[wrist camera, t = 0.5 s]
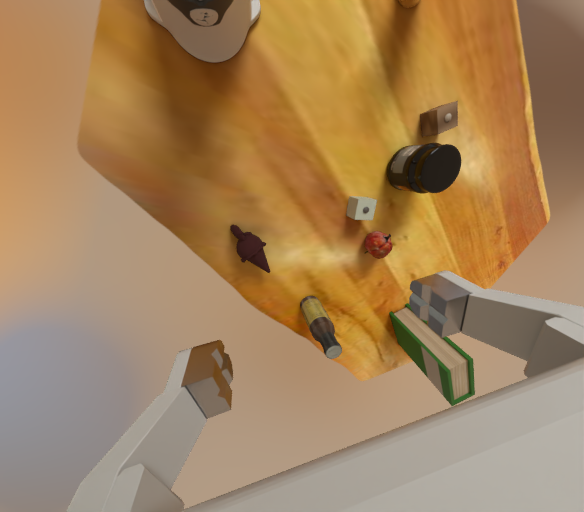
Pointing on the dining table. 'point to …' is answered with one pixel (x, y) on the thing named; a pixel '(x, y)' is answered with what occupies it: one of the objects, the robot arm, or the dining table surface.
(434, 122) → the walnut cube
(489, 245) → the dining table surface
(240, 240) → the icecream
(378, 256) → the pomegranate
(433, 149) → the supplement container
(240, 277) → the dining table surface
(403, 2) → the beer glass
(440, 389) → the hardback book
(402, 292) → the dining table surface
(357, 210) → the sage cube
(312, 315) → the sauce bottle
